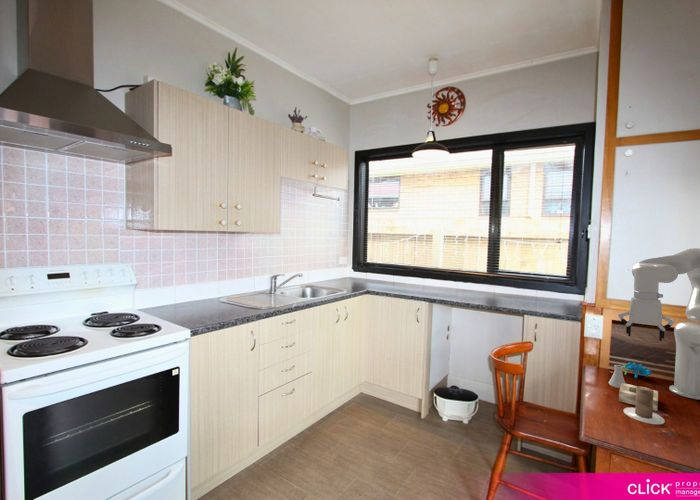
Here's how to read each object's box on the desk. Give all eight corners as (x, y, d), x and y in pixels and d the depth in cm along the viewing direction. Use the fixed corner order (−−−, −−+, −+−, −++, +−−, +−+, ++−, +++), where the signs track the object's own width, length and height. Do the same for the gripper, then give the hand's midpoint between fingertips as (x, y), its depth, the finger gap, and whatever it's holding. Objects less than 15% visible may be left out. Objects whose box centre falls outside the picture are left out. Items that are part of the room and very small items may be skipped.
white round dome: (644, 410, 139) (644, 407, 139) (673, 426, 127) (673, 423, 127) (615, 410, 139) (615, 407, 139) (642, 427, 127) (642, 423, 127)
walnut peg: (644, 411, 136) (645, 386, 135) (656, 418, 131) (657, 392, 130) (631, 411, 135) (633, 386, 135) (643, 418, 130) (644, 392, 130)
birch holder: (657, 402, 146) (658, 391, 146) (657, 413, 137) (657, 400, 137) (621, 393, 154) (621, 382, 154) (618, 403, 145) (619, 391, 145)
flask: (620, 384, 164) (621, 363, 164) (631, 391, 157) (632, 369, 156) (604, 383, 165) (605, 362, 164) (614, 390, 157) (615, 368, 157)
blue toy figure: (655, 375, 171) (646, 363, 168) (652, 386, 169) (643, 373, 166) (628, 371, 181) (620, 359, 178) (625, 380, 179) (617, 369, 176)
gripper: (674, 296, 138) (673, 339, 139) (619, 292, 149) (618, 331, 150) (675, 299, 132) (674, 344, 133) (618, 295, 143) (617, 336, 144)
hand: (644, 337), depth 142 cm, fingers open, 9 cm apart
